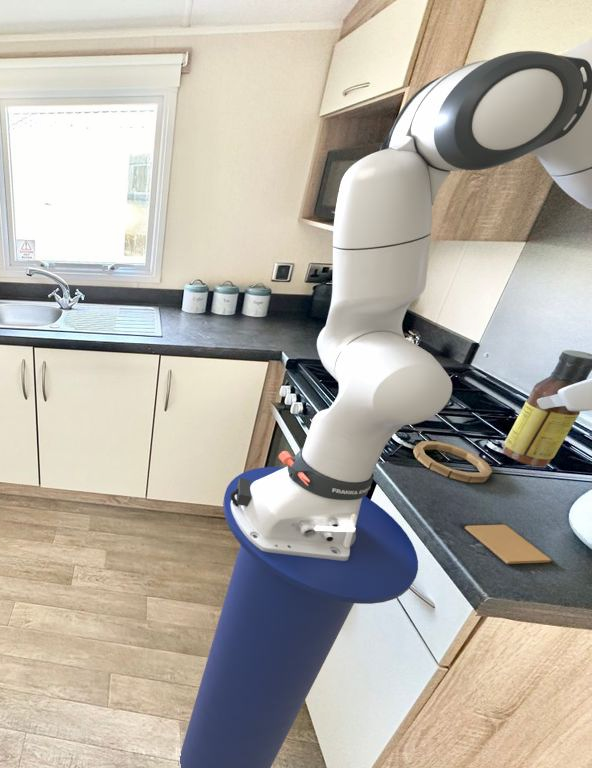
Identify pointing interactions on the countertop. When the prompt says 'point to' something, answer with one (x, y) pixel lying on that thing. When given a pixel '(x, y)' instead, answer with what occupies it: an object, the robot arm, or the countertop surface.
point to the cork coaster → (507, 544)
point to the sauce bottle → (547, 414)
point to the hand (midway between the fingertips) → (551, 400)
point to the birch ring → (446, 471)
